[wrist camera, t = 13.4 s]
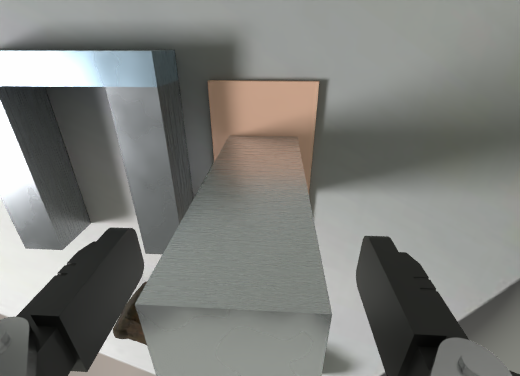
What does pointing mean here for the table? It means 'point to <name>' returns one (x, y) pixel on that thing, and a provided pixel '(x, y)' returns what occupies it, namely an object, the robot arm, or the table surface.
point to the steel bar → (242, 272)
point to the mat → (264, 112)
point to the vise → (128, 133)
